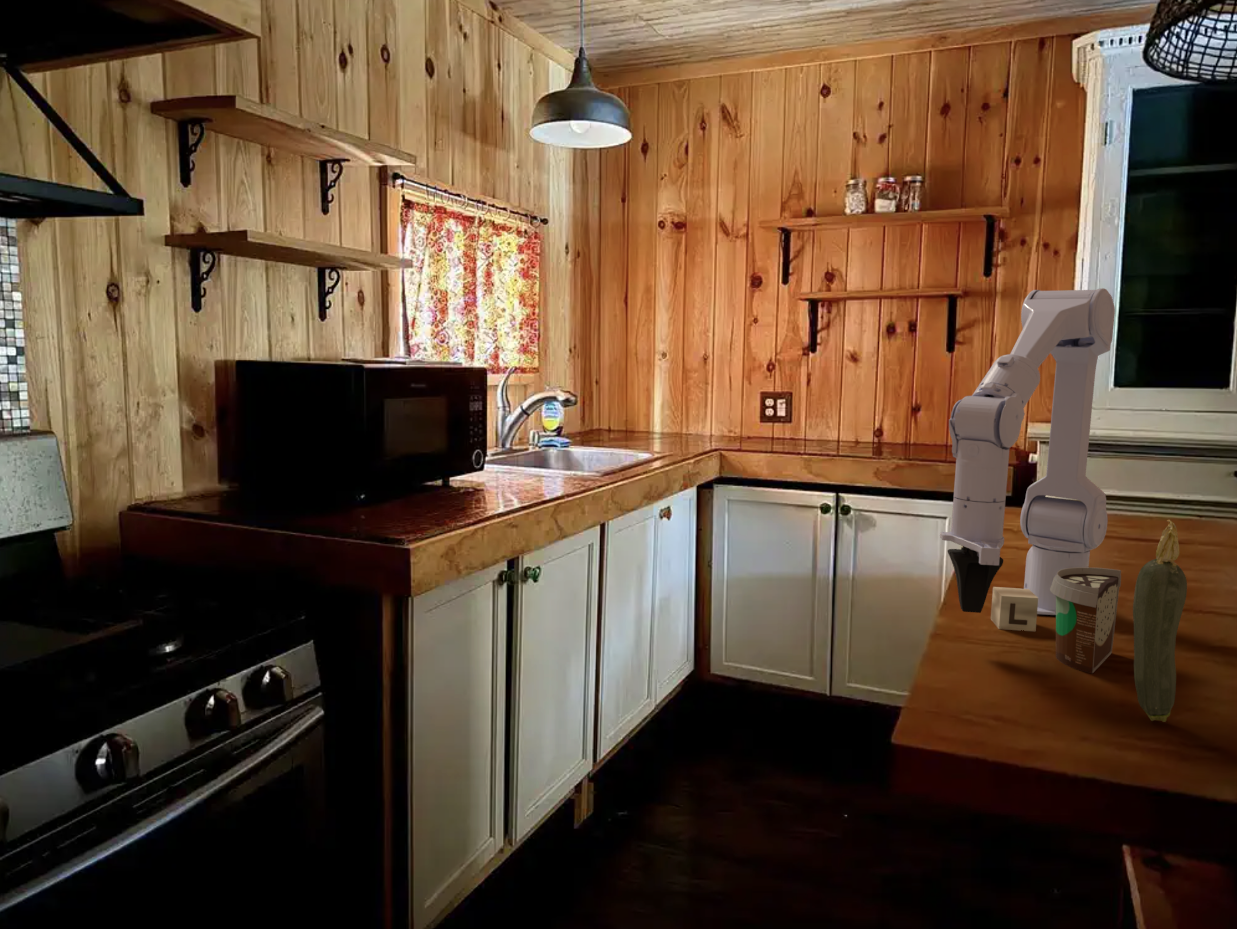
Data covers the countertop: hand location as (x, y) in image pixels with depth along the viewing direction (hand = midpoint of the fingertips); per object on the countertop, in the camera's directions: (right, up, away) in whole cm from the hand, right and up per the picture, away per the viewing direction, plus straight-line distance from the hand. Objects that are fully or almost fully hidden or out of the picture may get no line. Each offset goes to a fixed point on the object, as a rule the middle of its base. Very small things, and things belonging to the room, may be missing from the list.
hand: (970, 610), depth 112 cm
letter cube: (+10, -4, +11) cm, 15 cm away
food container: (+12, -6, -1) cm, 13 cm away
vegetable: (+10, -8, -20) cm, 24 cm away
